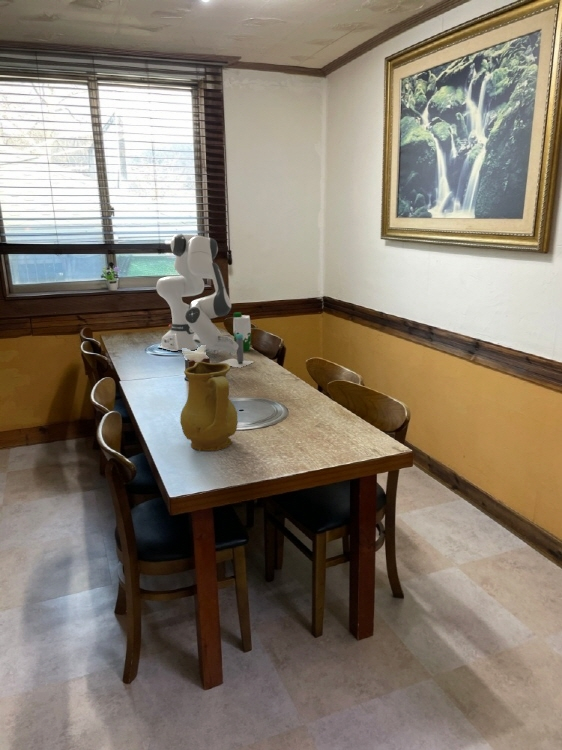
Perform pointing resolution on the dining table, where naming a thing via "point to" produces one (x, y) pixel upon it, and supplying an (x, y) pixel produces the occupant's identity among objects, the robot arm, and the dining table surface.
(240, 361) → the marker
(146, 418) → the dining table surface
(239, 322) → the milk carton
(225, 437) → the pitcher
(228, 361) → the paper
